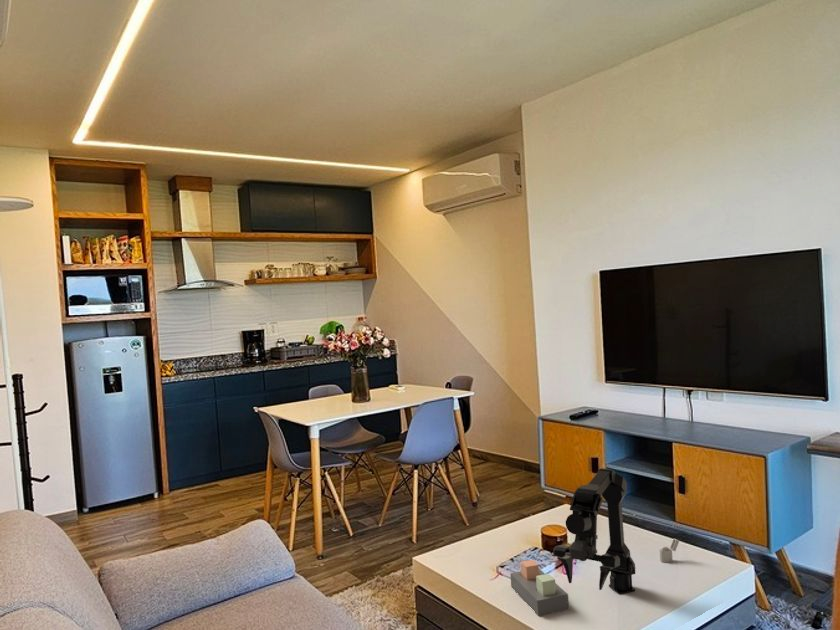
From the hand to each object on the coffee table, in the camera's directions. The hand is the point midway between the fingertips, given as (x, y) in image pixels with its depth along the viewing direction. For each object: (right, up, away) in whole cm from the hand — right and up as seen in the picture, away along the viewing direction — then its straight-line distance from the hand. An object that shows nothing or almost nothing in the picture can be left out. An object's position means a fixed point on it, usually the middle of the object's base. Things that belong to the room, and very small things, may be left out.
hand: (585, 586), depth 177 cm
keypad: (-9, -16, +26) cm, 31 cm away
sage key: (-7, -12, +20) cm, 24 cm away
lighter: (+45, -12, +48) cm, 67 cm away
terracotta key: (-10, -12, +31) cm, 35 cm away
